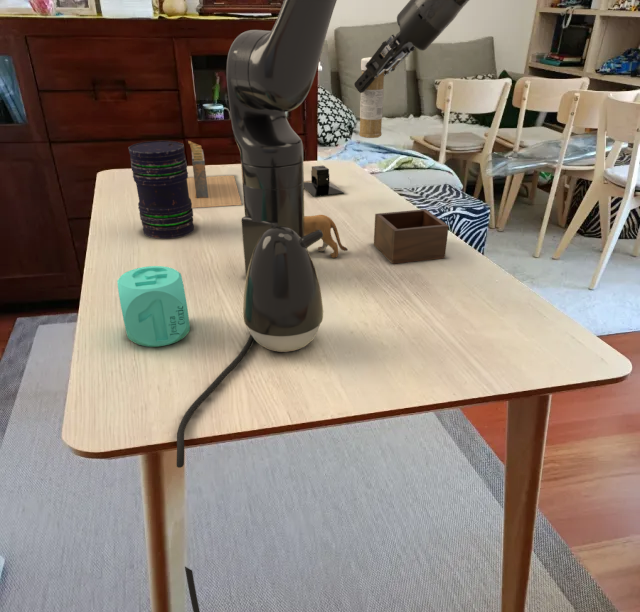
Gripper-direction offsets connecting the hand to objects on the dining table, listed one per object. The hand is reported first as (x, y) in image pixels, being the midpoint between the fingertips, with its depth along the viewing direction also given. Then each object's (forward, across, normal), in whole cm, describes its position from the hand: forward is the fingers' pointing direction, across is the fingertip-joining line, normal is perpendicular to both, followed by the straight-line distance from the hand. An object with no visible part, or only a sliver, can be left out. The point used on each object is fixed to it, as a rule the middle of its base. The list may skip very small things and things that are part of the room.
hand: (363, 86), depth 117 cm
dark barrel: (+35, +30, -4) cm, 47 cm away
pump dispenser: (+6, +61, +26) cm, 67 cm away
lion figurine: (+15, +31, +17) cm, 39 cm away
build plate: (+25, -8, +7) cm, 27 cm away
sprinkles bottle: (+5, 0, +8) cm, 9 cm away
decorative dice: (+18, +66, +14) cm, 70 cm away
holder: (+3, +23, +29) cm, 37 cm away
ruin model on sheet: (+42, +5, -10) cm, 43 cm away
